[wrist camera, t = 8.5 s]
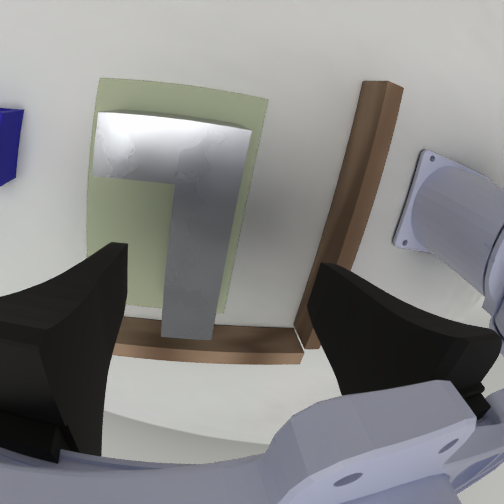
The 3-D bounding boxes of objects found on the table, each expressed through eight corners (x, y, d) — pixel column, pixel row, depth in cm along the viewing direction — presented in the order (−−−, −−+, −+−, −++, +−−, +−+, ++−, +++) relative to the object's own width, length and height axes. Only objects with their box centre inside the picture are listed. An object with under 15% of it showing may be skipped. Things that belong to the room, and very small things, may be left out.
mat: (267, 99, 18) (268, 99, 17) (223, 310, 24) (223, 313, 24) (101, 78, 15) (99, 78, 15) (90, 297, 21) (89, 299, 21)
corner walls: (377, 87, 18) (403, 88, 16) (301, 339, 27) (312, 363, 24) (52, 33, 13) (31, 25, 10) (47, 317, 21) (36, 342, 19)
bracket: (206, 298, 23) (211, 340, 19) (108, 288, 21) (95, 329, 17) (237, 123, 18) (252, 130, 14) (119, 109, 16) (98, 112, 12)
